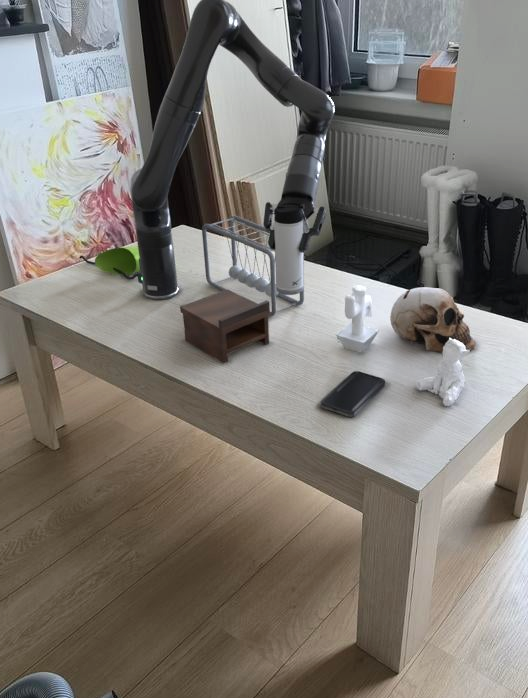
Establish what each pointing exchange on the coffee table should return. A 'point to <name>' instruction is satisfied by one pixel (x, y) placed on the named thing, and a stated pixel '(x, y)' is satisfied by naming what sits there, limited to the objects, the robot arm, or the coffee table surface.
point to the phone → (353, 393)
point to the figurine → (357, 321)
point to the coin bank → (429, 319)
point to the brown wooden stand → (225, 323)
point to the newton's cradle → (243, 274)
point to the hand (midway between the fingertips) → (286, 249)
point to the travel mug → (288, 248)
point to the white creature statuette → (447, 373)
